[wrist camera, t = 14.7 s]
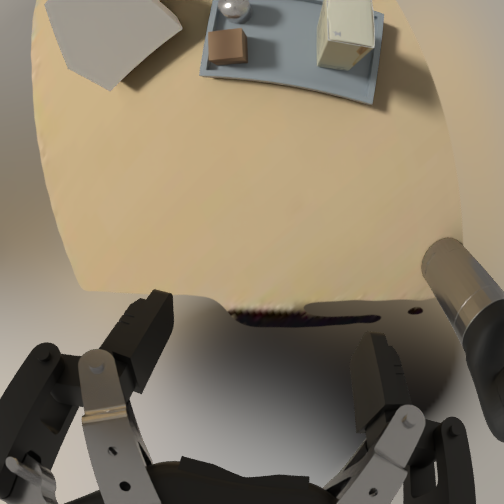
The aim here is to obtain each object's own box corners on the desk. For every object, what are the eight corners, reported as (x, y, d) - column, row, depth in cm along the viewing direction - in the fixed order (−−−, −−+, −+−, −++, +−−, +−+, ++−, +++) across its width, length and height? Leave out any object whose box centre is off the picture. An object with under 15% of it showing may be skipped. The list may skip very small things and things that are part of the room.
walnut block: (247, 36, 27) (241, 28, 23) (248, 63, 29) (242, 57, 25) (216, 39, 27) (208, 32, 24) (217, 65, 29) (208, 60, 26)
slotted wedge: (172, 7, 29) (100, -50, 13) (182, 28, 26) (90, -44, 10) (111, 59, 34) (36, 17, 17) (110, 91, 31) (16, 43, 15)
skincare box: (349, 71, 27) (376, 52, 17) (315, 67, 28) (327, 43, 17) (349, 29, 24) (373, -5, 14) (316, 24, 25) (325, -14, 14)
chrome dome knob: (254, 3, 24) (249, -8, 21) (250, 24, 26) (245, 15, 23) (227, 2, 24) (220, -8, 21) (223, 23, 26) (215, 14, 23)
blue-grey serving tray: (377, 20, 24) (383, 14, 21) (366, 105, 31) (372, 104, 28) (221, -5, 25) (215, -12, 22) (206, 78, 32) (199, 75, 29)
